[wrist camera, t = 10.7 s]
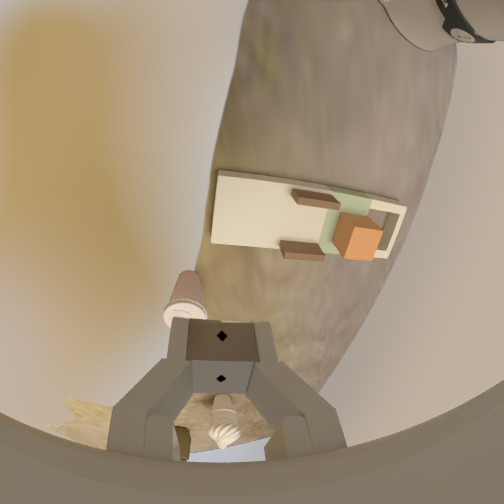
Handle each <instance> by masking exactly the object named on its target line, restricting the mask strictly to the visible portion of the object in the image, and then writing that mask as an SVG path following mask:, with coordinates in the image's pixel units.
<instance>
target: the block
mask: <svg viewBox="0 0 504 504" xmlns="http://www.w3.org/2000/svg"><path fill="white" fill-rule="evenodd" d="M382 234H383V230H382V229H381V228H380V227H379V226H378V225H377V224H375V223H374V222H373V221H372V220H371V219H370V218H369V217H368V216H362V215H357V214H351V213H345V212H340V216H339V219H338V222H337V225H336V229H335V232H334V235H333V238H332V243H333V244H334V246H335V247H336V248H337V250H338V251H339V253H340V254H341V256H342V257H343V258H344V259H355V260H367V261H372V259H373V257H374V254H375V252H376V249H377V247H378V244H379V242H380V239H381V236H382Z"/></svg>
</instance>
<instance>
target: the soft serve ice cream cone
mask: <svg viewBox="0 0 504 504" xmlns="http://www.w3.org/2000/svg"><path fill="white" fill-rule="evenodd" d="M240 430H241V429H240V428H238V422H237V419H236V412H235V411H234V408H233V405H232V401H231V398H230V396H229V395H227V394H218V395H216V396H215V397H214V402H213V407H212V412H211V422H210V427H209V429H208V434H209V436H210V437H211V438H212V439H214V440H215V441H216V442H217V445H218V446H219V448H221V449H225V448H226V447H227V445H229V444H231V443H232V442H234V441H235V440H236V439H238V438H239V436H240V435H241V432H240Z"/></svg>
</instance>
